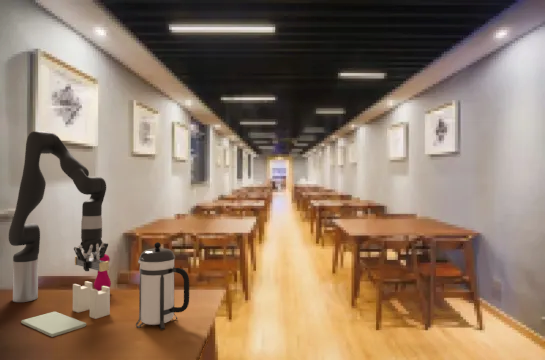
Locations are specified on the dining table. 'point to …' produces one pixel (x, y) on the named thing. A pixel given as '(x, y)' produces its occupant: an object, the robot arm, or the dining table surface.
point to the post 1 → (81, 297)
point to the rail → (94, 264)
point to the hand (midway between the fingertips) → (91, 269)
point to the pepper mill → (102, 277)
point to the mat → (53, 323)
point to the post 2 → (99, 302)
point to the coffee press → (159, 287)
